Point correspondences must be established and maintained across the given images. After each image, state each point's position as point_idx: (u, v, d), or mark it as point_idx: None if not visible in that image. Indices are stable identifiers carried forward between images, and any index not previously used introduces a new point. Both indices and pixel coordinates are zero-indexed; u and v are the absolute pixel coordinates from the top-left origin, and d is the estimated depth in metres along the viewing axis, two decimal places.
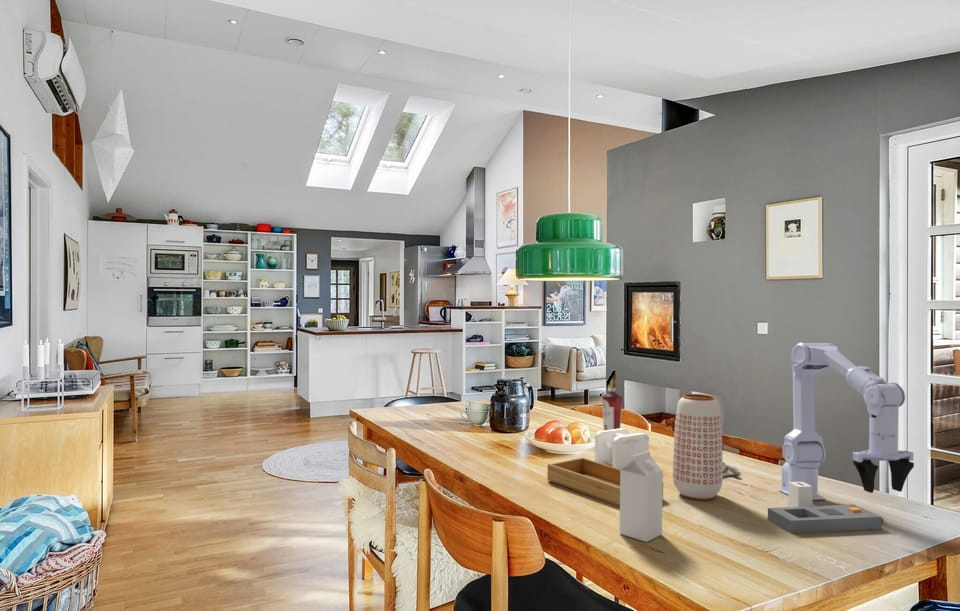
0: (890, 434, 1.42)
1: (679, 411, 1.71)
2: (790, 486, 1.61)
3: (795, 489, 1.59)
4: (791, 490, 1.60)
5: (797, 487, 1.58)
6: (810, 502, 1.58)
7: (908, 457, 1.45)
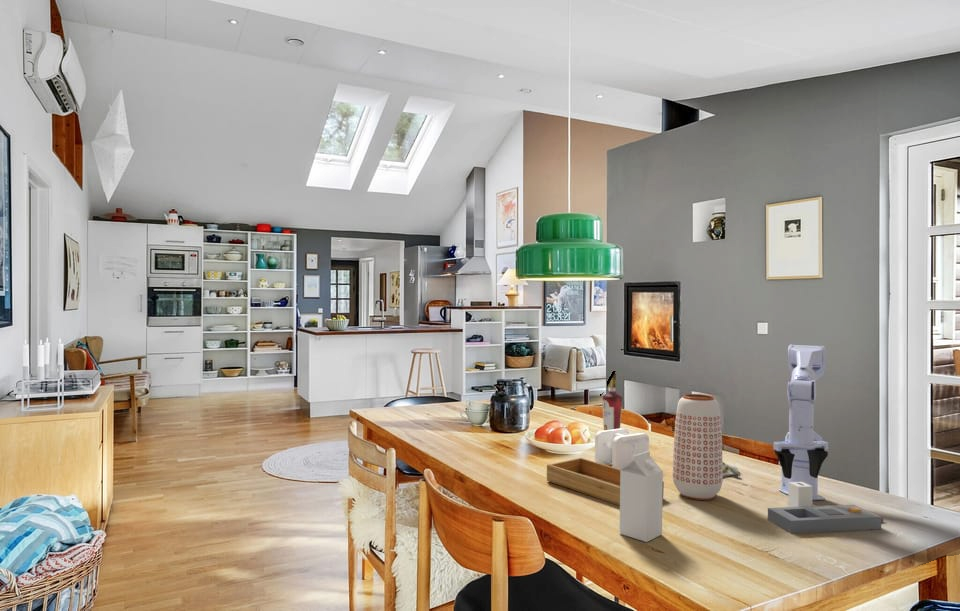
0: (797, 425, 1.58)
1: (679, 411, 1.71)
2: (790, 486, 1.61)
3: (795, 489, 1.59)
4: (791, 490, 1.60)
5: (797, 487, 1.58)
6: (810, 502, 1.58)
7: (823, 447, 1.60)
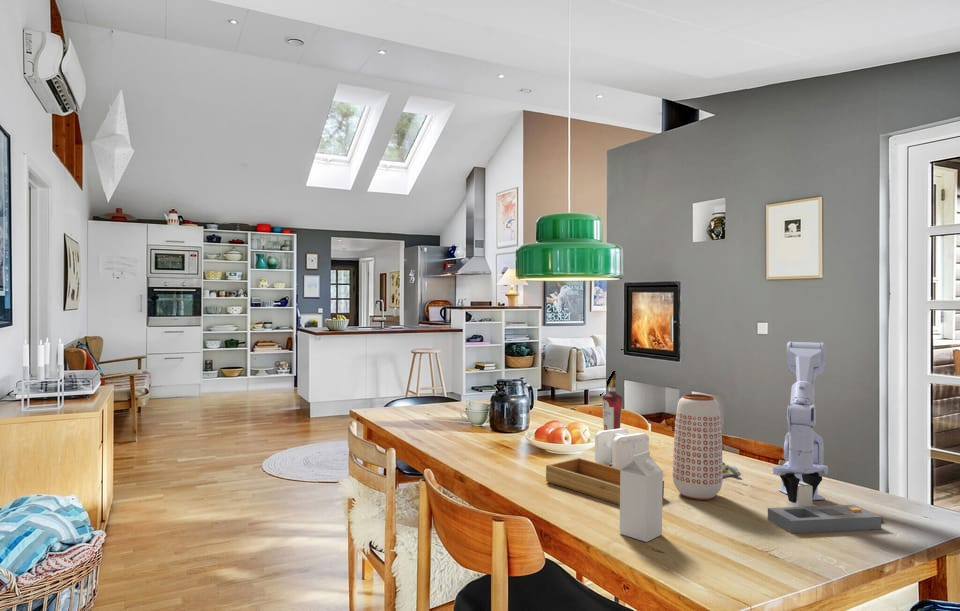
0: (797, 449, 1.58)
1: (679, 411, 1.71)
2: None
3: None
4: None
5: None
6: (810, 502, 1.58)
7: (823, 471, 1.60)
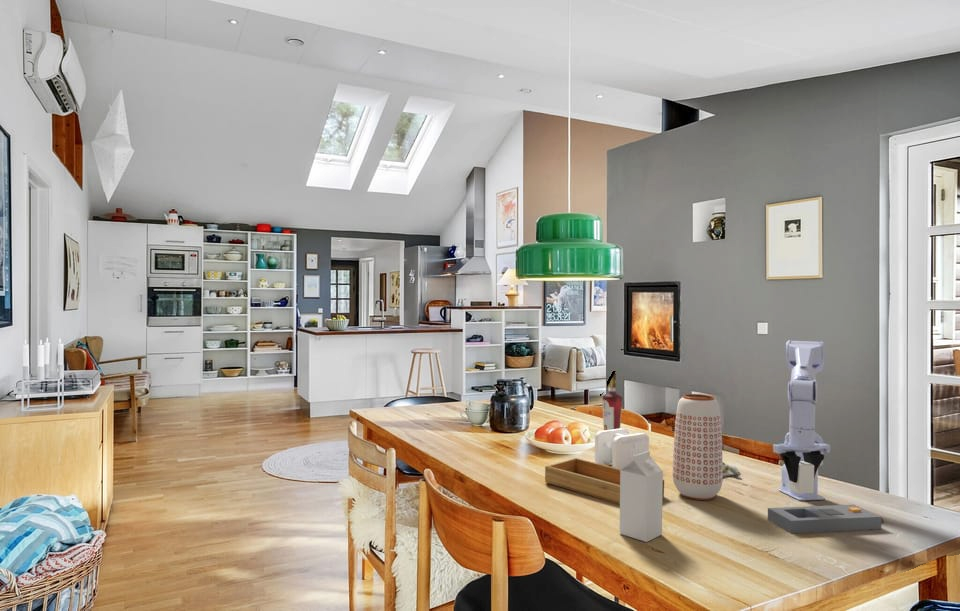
0: (798, 427, 1.52)
1: (679, 411, 1.71)
2: None
3: None
4: None
5: (798, 466, 1.52)
6: (812, 481, 1.52)
7: (825, 449, 1.54)
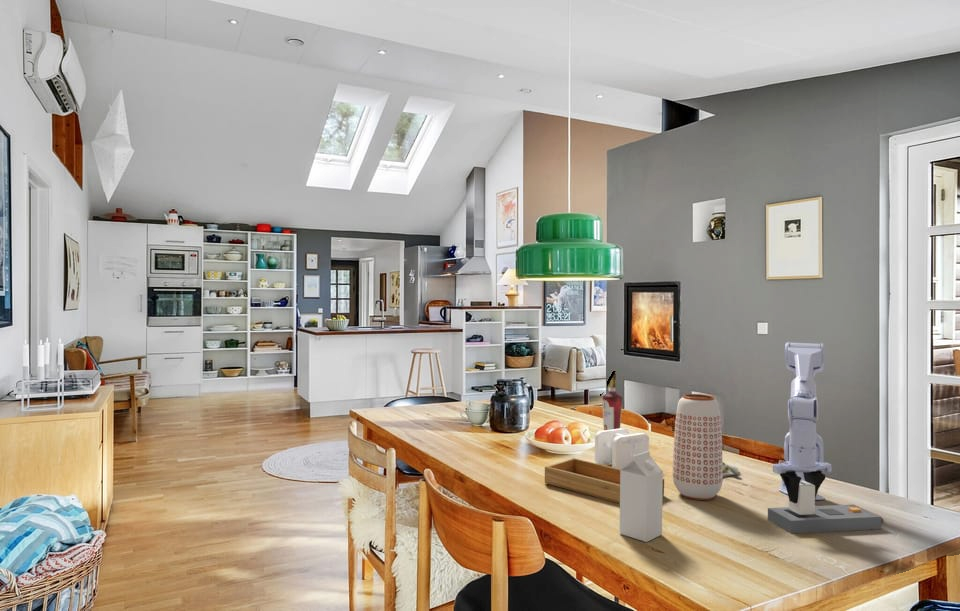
0: (799, 446, 1.47)
1: (679, 411, 1.71)
2: None
3: None
4: None
5: None
6: (812, 502, 1.47)
7: (826, 469, 1.49)
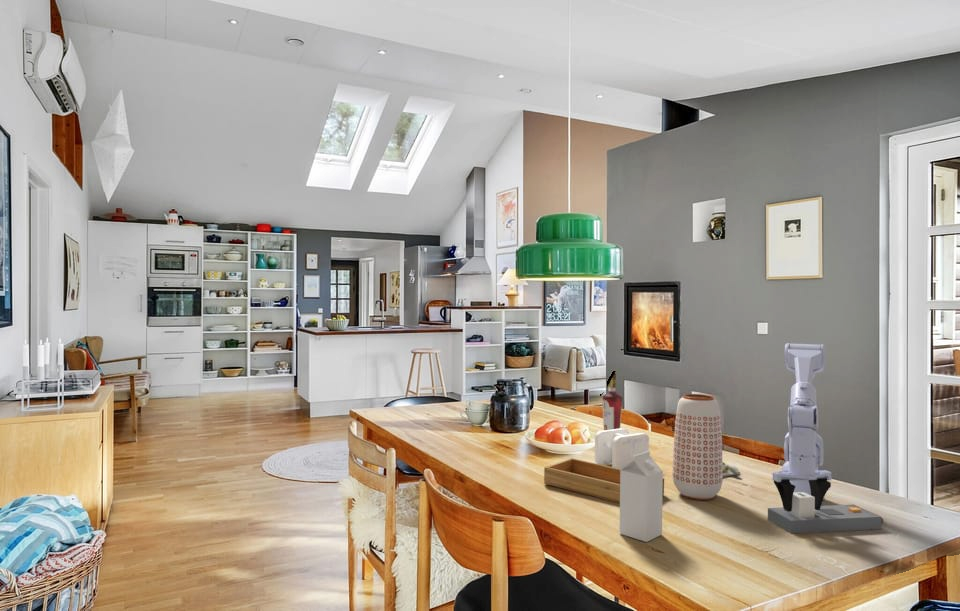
0: (799, 454, 1.47)
1: (679, 411, 1.71)
2: None
3: (796, 501, 1.48)
4: (792, 501, 1.49)
5: (798, 498, 1.47)
6: (812, 514, 1.47)
7: (826, 477, 1.49)
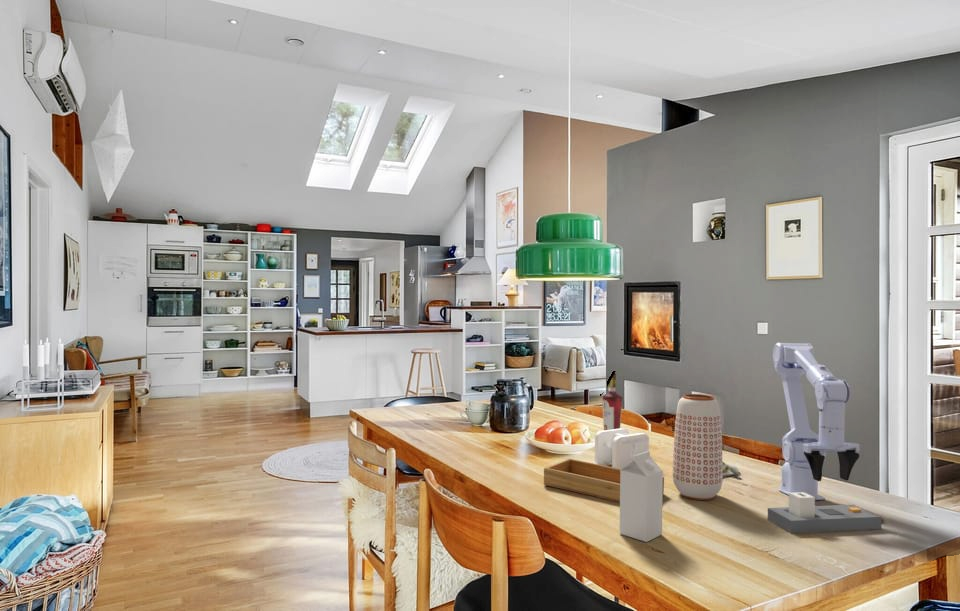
0: (834, 427, 1.53)
1: (679, 411, 1.71)
2: (791, 497, 1.50)
3: (796, 501, 1.48)
4: (792, 501, 1.49)
5: (798, 498, 1.47)
6: (812, 514, 1.47)
7: (854, 448, 1.56)
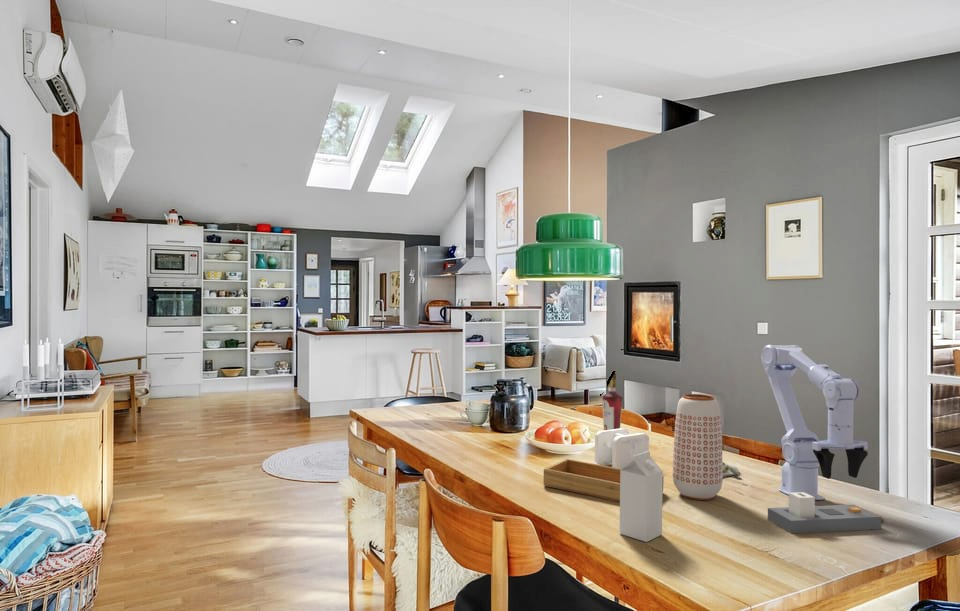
0: (845, 425, 1.55)
1: (679, 411, 1.71)
2: (791, 497, 1.50)
3: (796, 501, 1.48)
4: (792, 501, 1.49)
5: (798, 498, 1.47)
6: (812, 514, 1.47)
7: (863, 446, 1.58)
